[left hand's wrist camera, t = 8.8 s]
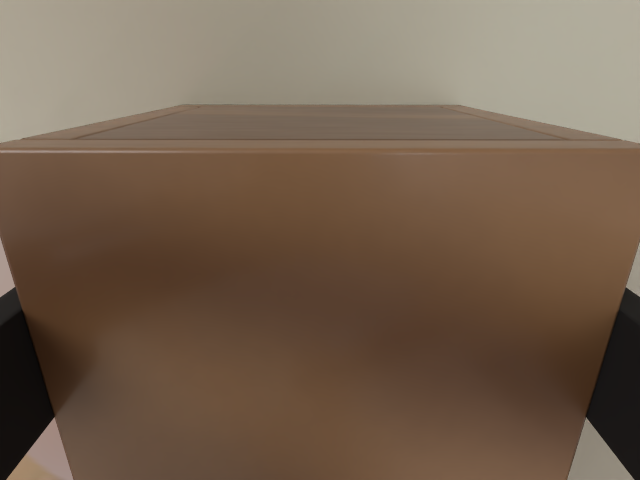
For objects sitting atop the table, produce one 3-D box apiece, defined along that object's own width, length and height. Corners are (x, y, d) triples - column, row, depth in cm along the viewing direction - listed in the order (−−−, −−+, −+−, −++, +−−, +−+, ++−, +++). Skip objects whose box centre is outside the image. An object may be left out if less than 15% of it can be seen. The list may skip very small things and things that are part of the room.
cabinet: (415, 481, 25) (481, 765, 15) (224, 481, 25) (158, 764, 15) (459, 105, 17) (670, 148, 7) (181, 104, 17) (-30, 148, 7)
